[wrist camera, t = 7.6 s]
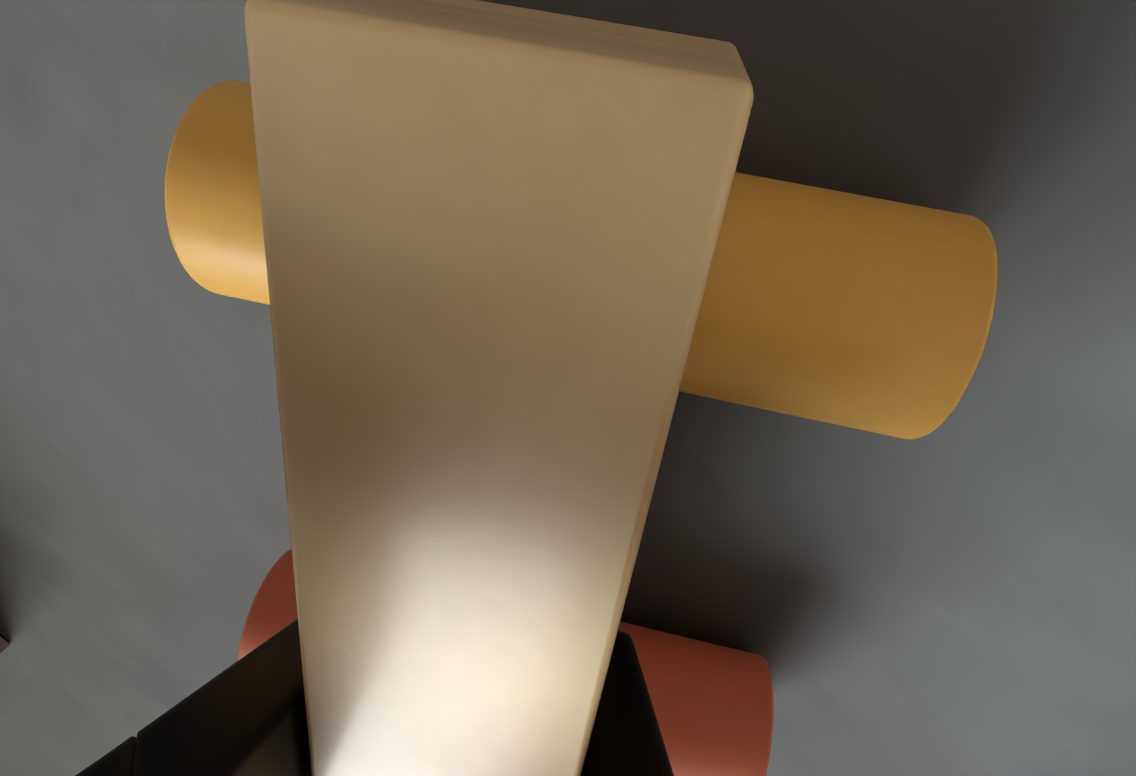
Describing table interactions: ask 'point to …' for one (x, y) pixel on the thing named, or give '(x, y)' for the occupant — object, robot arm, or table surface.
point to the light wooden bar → (476, 353)
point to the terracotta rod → (671, 671)
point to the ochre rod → (733, 291)
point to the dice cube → (3, 644)
